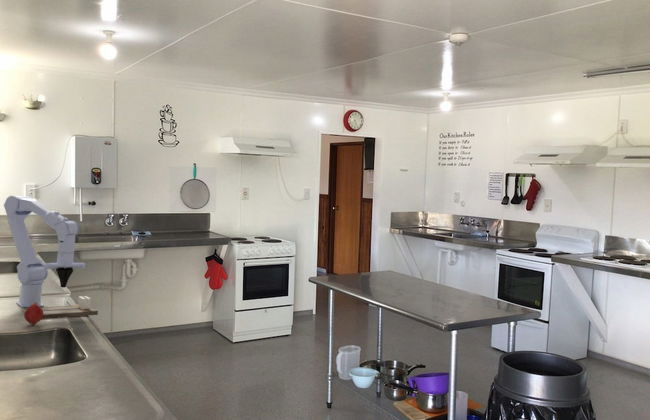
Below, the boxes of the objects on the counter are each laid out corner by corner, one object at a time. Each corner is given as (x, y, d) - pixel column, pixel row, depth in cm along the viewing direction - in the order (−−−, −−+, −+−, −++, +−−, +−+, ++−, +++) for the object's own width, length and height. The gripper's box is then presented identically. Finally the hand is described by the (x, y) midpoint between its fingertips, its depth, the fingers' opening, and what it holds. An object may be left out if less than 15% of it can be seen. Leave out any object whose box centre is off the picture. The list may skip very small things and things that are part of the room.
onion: (21, 326, 191) (23, 303, 190) (26, 322, 196) (27, 300, 196) (40, 327, 192) (42, 304, 192) (44, 323, 198) (45, 300, 198)
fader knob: (77, 306, 219) (78, 296, 219) (85, 306, 221) (86, 295, 221) (81, 309, 215) (82, 298, 215) (89, 308, 217) (90, 298, 217)
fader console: (30, 311, 212) (30, 307, 212) (87, 308, 225) (87, 304, 225) (38, 318, 203) (38, 314, 202) (97, 314, 216) (97, 310, 216)
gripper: (48, 253, 209) (45, 289, 209) (88, 253, 218) (85, 288, 218) (43, 251, 214) (40, 286, 214) (82, 251, 223) (80, 284, 224)
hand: (63, 287), depth 217 cm, fingers closed
